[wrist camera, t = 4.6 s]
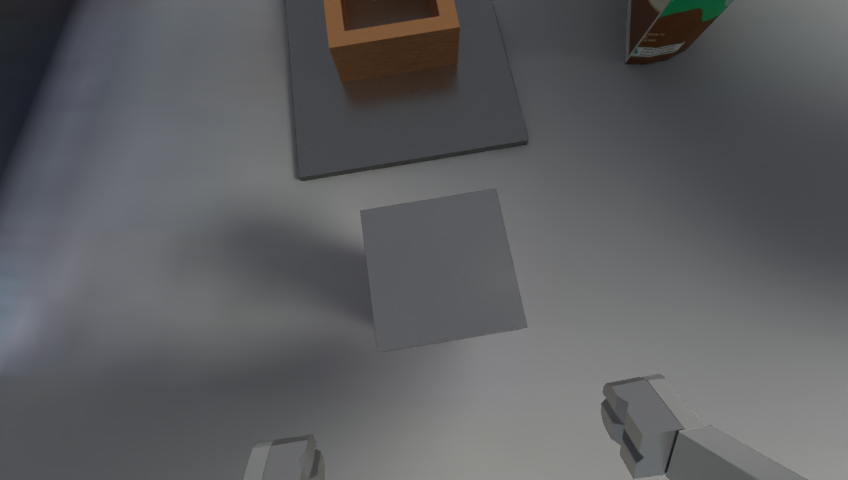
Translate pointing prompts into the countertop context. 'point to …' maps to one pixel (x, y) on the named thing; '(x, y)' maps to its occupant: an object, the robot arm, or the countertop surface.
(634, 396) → the robot arm
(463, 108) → the grey base plate
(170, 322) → the countertop surface
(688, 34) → the food container
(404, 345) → the square-headed pin
